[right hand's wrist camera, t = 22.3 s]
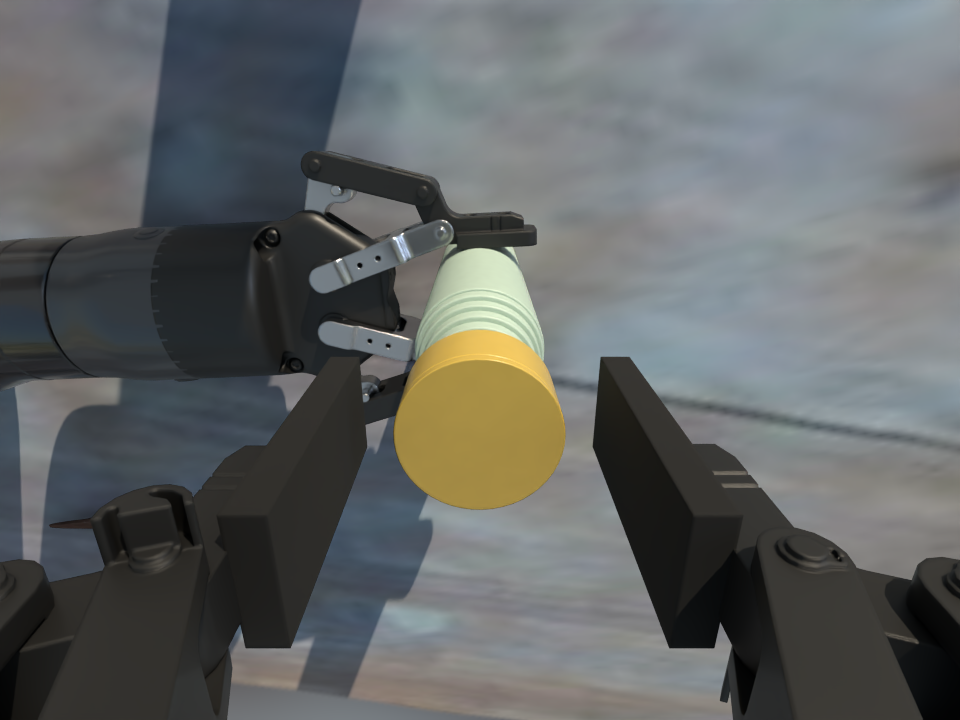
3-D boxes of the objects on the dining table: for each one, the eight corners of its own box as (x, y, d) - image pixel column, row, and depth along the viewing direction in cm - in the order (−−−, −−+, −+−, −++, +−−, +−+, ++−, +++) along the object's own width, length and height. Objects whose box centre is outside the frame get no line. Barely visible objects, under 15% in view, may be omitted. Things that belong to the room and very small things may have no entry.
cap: (584, 383, 14) (601, 421, 12) (495, 487, 16) (498, 536, 14) (460, 298, 14) (457, 324, 12) (376, 415, 15) (360, 456, 13)
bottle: (518, 227, 31) (575, 343, 12) (514, 300, 33) (560, 500, 14) (442, 226, 31) (386, 339, 12) (443, 299, 33) (393, 497, 14)
